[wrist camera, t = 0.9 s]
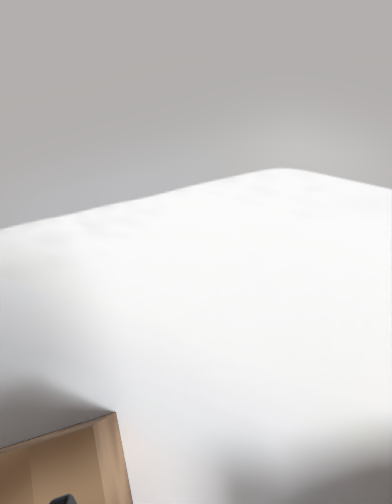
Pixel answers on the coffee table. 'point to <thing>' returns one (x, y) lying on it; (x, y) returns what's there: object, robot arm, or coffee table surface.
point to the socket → (67, 466)
